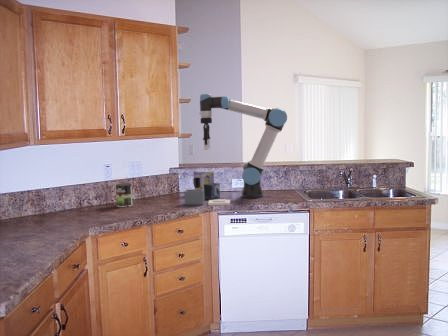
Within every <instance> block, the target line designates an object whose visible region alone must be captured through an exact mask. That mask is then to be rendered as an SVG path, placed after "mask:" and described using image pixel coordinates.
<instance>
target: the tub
mask: <svg viewBox="0 0 448 336" xmlns="http://www.w3.org/2000/svg"><path fill="white" fill-rule="evenodd" d="M205 202H206V201H205V199H204V189H195V188H194V189H185V190H184V206H204V205H205Z"/></svg>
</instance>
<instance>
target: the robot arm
mask: <svg viewBox="0 0 448 336" xmlns="http://www.w3.org/2000/svg"><path fill="white" fill-rule="evenodd" d="M199 109H200V111H199V115H200V124H203V127H202V128H203V137H202V141H203V148H204V149H203V150H204V151H209V149H210V148H211V146H210V145H211V144H210V143H211V141H210V140H211V137H210V124H212V122H213V121H212V120H213V118H212V117H213V116H212V115H213V113H212V112H213V111H212V109H221V110H226V111H230V112H234V113H238V114H241V115H246V116H249V117H253V118H257V119H260V120H263V122H265V123H264V125H265V129H264V132H263V133H262V136H261V138H260V140H259V142H258V144H257V147H256V149H255V151H254V154H253V156H252V157H251V160H249V161H247V163H243V172H242V174H241V175H242V180H243V188H242V192H241V197H242V198H247V199H249V198H250V199H252V198H253V199H257V198H258V199H259V198H262V197H264V192H263V189H262V186H261V176H262V174H263V172H264V170H265V168H264V164H265V162H266V160H267V157H268V156H269V153H270V151H271V149H272V147H273V144H274V142H275V141H276V139H277V136H278V133H281V132H282V130H283V128H284V126H285V124H286V122H287V120H288V115H287V112H286V110H284V109H283V108H279V107H276V108H271V107H267V108H266V107H262V106H258V105H255V104H254V105H253V104H250V103H246V102H241V101H238V100H234V99H230V98H229V96H212V94H211V93H201V94H200V95H199Z"/></svg>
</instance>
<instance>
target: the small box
mask: <svg viewBox="0 0 448 336" xmlns="http://www.w3.org/2000/svg"><path fill="white" fill-rule="evenodd" d="M220 189H221V187H220V182H219V183H218V182H214V183H209V184H204V200H208V201H209V200H217V199H220V198H221V192H220V191H221V190H220Z"/></svg>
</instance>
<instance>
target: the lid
mask: <svg viewBox="0 0 448 336" xmlns="http://www.w3.org/2000/svg"><path fill="white" fill-rule="evenodd" d="M207 206H231V199H223V198H222V199H220V198H217V199H213V200H208V203H207Z"/></svg>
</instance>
